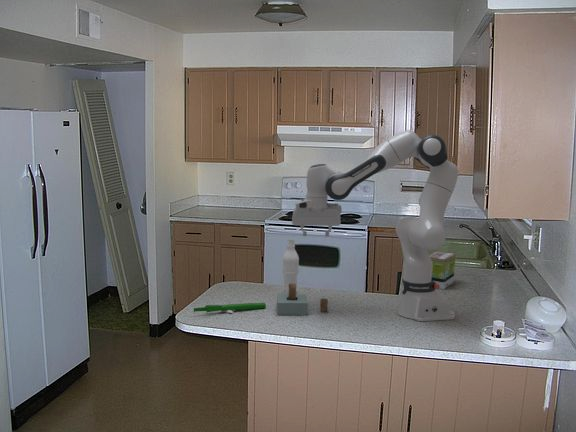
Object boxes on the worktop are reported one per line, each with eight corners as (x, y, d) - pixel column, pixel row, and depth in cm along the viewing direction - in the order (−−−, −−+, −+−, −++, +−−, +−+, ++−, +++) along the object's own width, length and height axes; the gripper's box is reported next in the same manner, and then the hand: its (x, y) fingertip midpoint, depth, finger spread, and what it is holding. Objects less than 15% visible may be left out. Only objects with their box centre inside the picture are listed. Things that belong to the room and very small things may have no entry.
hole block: (305, 305, 254) (305, 294, 253) (307, 315, 242) (307, 303, 241) (277, 305, 253) (277, 294, 252) (277, 315, 241) (277, 303, 241)
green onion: (262, 308, 252) (192, 312, 240) (263, 301, 252) (192, 305, 240) (266, 312, 248) (195, 316, 236) (267, 304, 247) (195, 308, 236)
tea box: (444, 290, 281) (446, 259, 278) (423, 286, 286) (425, 256, 283) (454, 282, 293) (455, 253, 291) (433, 279, 298) (435, 250, 296)
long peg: (295, 309, 249) (295, 283, 247) (295, 311, 246) (296, 285, 244) (288, 309, 249) (288, 283, 247) (288, 311, 246) (288, 285, 244)
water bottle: (279, 297, 265) (280, 241, 261) (284, 293, 272) (285, 238, 268) (295, 299, 263) (296, 242, 259) (300, 294, 270) (301, 239, 266)
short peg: (327, 310, 249) (327, 298, 248) (327, 312, 246) (328, 300, 245) (319, 310, 248) (320, 298, 248) (320, 312, 245) (320, 300, 245)
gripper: (340, 202, 254) (339, 234, 256) (292, 201, 254) (291, 234, 256) (342, 204, 248) (341, 237, 250) (292, 204, 247) (292, 237, 250)
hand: (315, 236), depth 253 cm, fingers open, 8 cm apart
